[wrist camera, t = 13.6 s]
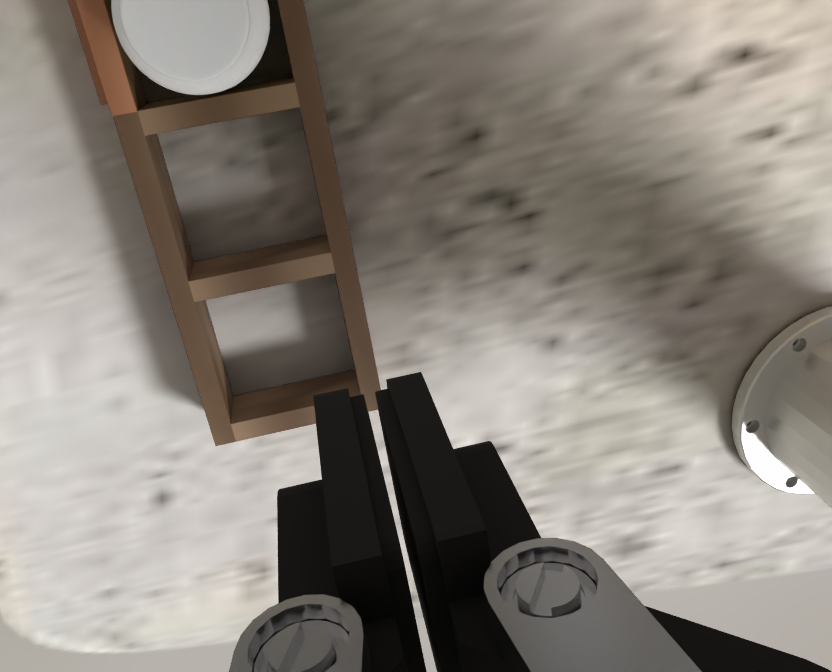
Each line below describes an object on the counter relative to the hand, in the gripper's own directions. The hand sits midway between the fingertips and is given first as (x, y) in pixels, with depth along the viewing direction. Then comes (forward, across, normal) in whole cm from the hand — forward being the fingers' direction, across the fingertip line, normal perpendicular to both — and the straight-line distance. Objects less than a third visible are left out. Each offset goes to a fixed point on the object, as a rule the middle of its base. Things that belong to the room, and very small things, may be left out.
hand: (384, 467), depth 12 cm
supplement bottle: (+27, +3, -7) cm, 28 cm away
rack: (+27, +3, 0) cm, 27 cm away
